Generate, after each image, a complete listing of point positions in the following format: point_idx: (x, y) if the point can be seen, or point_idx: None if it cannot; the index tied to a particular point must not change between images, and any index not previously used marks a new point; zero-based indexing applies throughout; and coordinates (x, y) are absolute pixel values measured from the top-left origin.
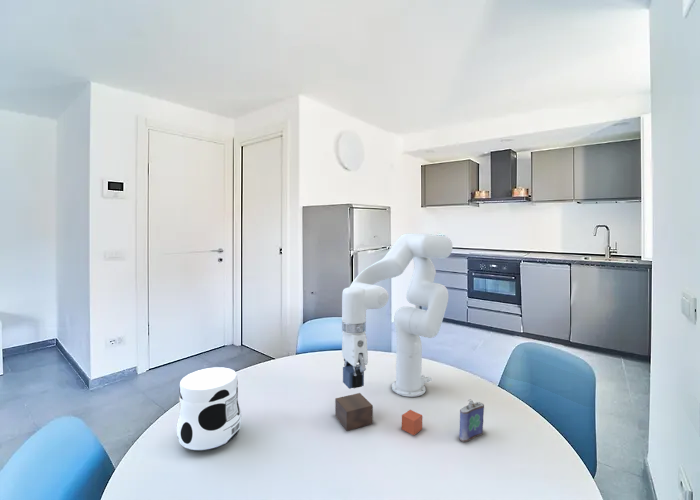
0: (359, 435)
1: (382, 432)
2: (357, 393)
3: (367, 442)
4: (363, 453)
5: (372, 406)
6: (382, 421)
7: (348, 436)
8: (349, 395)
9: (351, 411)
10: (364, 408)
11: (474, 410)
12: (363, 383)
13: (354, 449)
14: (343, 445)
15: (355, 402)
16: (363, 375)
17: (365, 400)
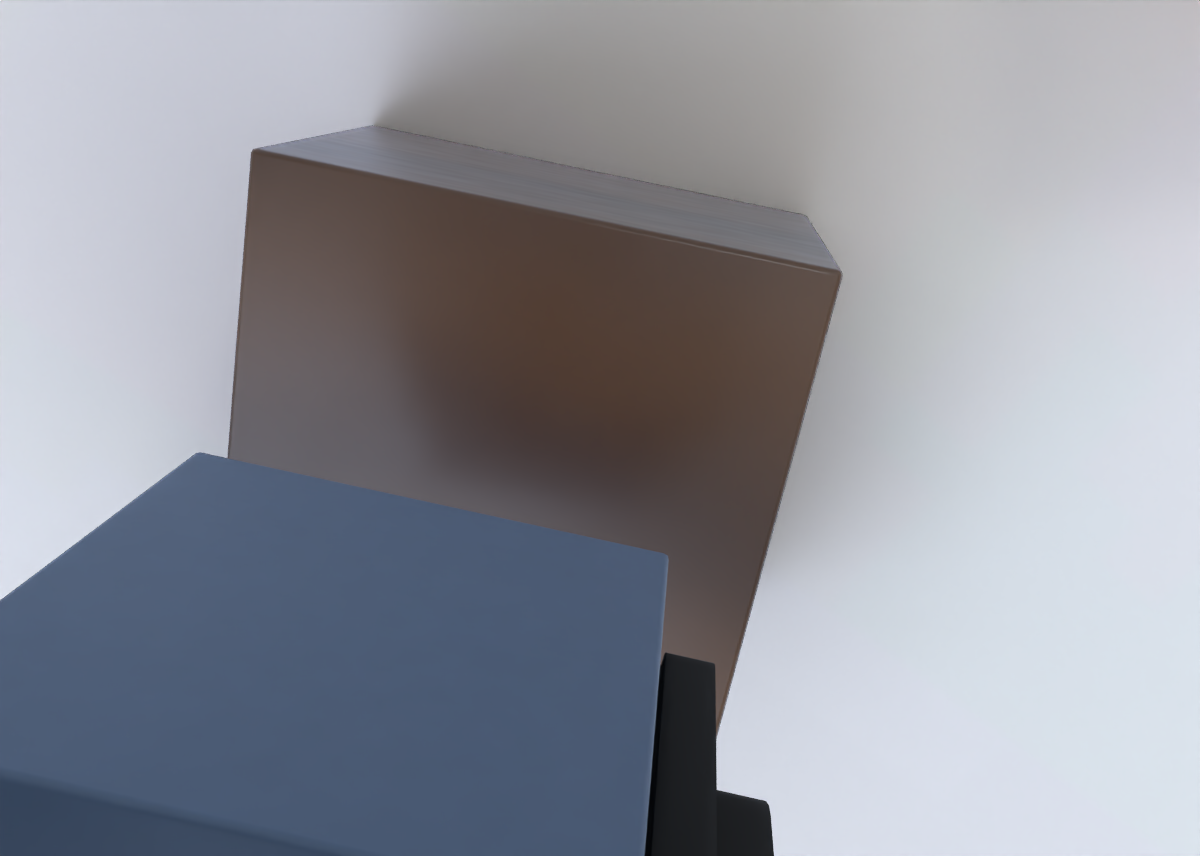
0: (891, 536)
1: (1069, 239)
2: (250, 212)
3: (1077, 549)
4: (1193, 711)
5: (840, 276)
6: (857, 30)
7: (813, 650)
8: (244, 400)
9: (726, 683)
10: (794, 449)
11: None
12: (663, 597)
13: (1060, 741)
14: (912, 787)
15: (538, 473)
16: (651, 769)
17: (590, 264)
